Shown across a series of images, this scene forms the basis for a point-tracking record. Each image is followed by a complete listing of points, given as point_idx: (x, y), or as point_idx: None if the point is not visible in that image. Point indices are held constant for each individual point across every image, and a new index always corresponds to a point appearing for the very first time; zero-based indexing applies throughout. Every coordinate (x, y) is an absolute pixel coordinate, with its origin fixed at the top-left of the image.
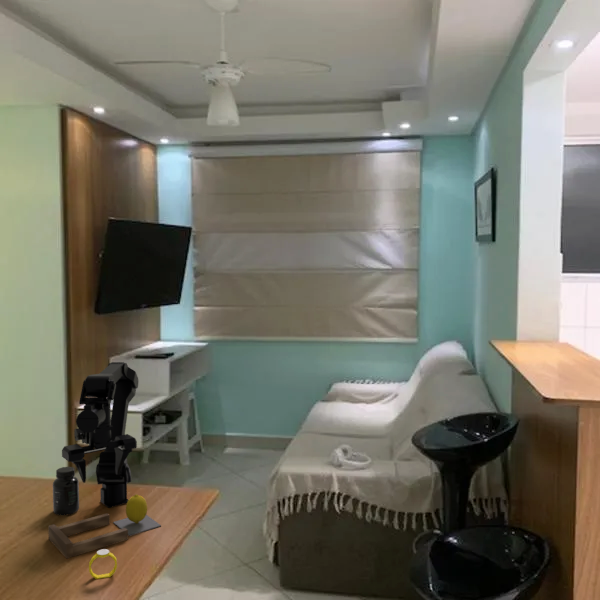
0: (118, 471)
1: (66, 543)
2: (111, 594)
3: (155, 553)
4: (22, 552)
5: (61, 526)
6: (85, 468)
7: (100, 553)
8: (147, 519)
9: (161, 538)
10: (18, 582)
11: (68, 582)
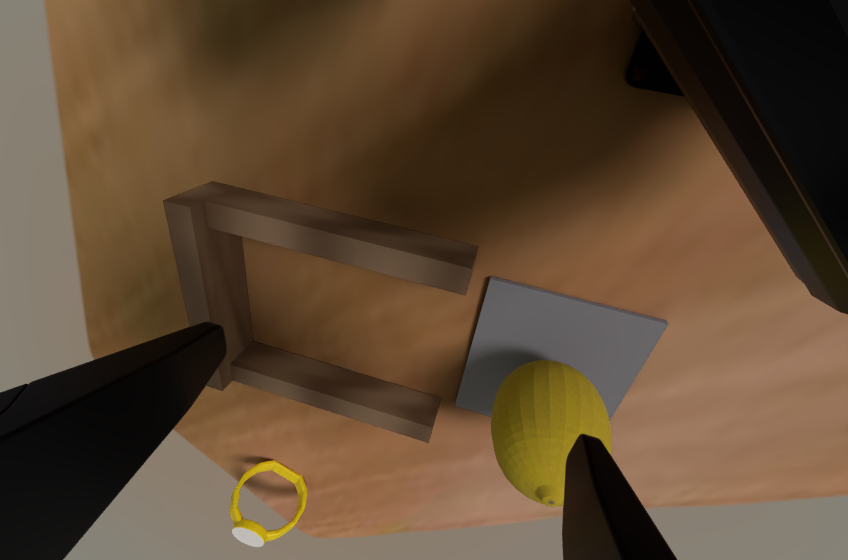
0: (570, 517)
1: None
2: (276, 512)
3: (439, 507)
4: (119, 203)
5: (234, 213)
6: (61, 556)
7: (239, 536)
8: (608, 380)
9: None
10: (114, 346)
11: (215, 430)
